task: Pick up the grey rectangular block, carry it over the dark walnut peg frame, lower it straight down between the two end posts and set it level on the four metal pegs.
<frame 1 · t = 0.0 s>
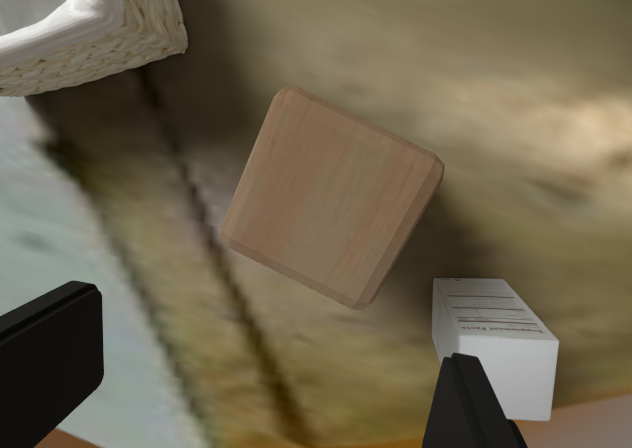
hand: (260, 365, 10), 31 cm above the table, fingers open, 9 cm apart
wooden block: (347, 169, 40), on the table
storage basket: (82, 5, 40), on the table
supplement box: (465, 306, 41), on the table
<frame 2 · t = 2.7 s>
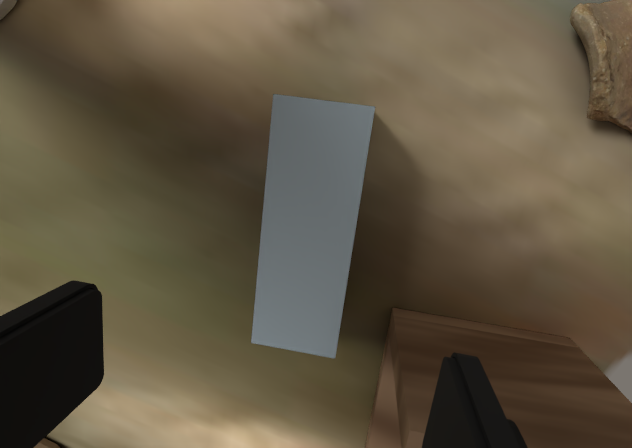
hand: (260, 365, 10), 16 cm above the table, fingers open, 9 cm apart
peg frame: (449, 432, 29), on the table
grey rectangular block: (320, 212, 26), on the table
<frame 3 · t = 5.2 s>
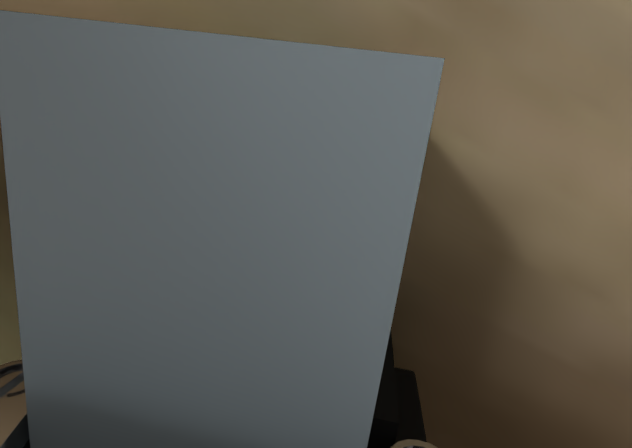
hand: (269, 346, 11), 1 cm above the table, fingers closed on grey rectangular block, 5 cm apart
grey rectangular block: (276, 329, 12), on the table, touching gripper
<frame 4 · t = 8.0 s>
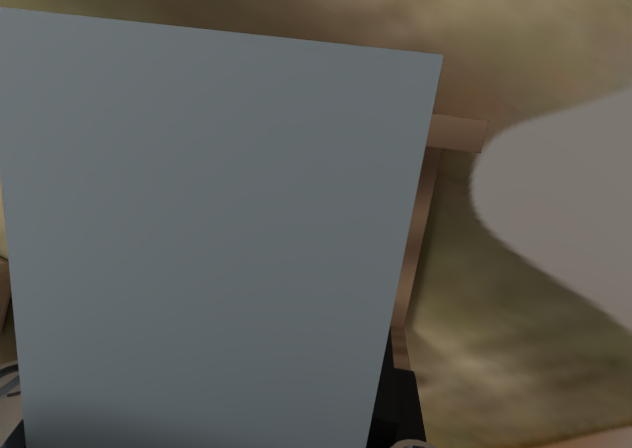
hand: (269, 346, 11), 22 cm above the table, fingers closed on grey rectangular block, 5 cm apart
peg frame: (349, 226, 32), on the table
grey rectangular block: (275, 329, 12), point 21 cm above the table, touching gripper
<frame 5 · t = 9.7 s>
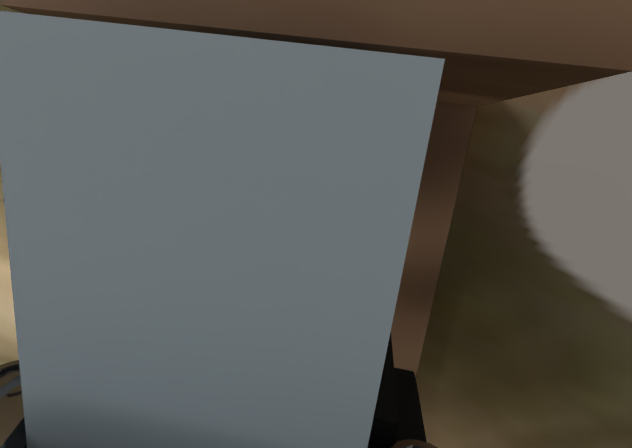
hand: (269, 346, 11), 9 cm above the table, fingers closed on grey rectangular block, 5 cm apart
peg frame: (318, 250, 20), on the table
grey rectangular block: (276, 330, 12), point 9 cm above the table, touching gripper
when the fingers open (6 cm above the table, at t = 11.3 s): grey rectangular block stays where it is, resting on peg frame.
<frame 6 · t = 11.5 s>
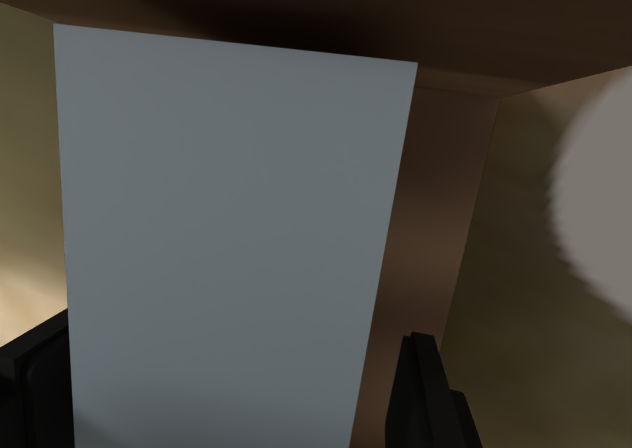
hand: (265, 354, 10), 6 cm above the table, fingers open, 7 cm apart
peg frame: (305, 271, 17), on the table
grey rectangular block: (280, 310, 13), point 4 cm above the table, touching peg frame
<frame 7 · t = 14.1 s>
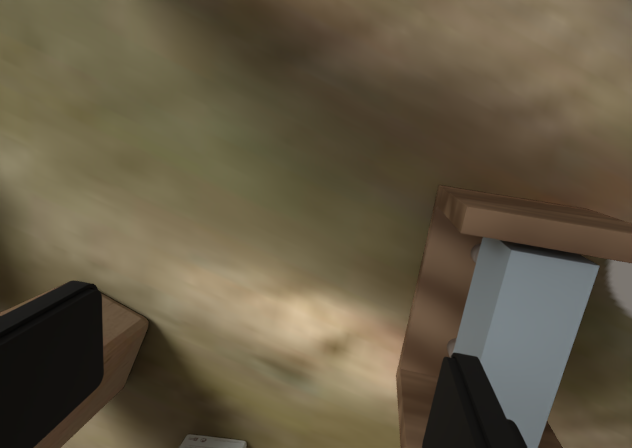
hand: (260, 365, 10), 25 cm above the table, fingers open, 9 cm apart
wooden block: (103, 331, 42), on the table
peg frame: (483, 299, 34), on the table
grey rectangular block: (495, 318, 30), point 4 cm above the table, touching peg frame
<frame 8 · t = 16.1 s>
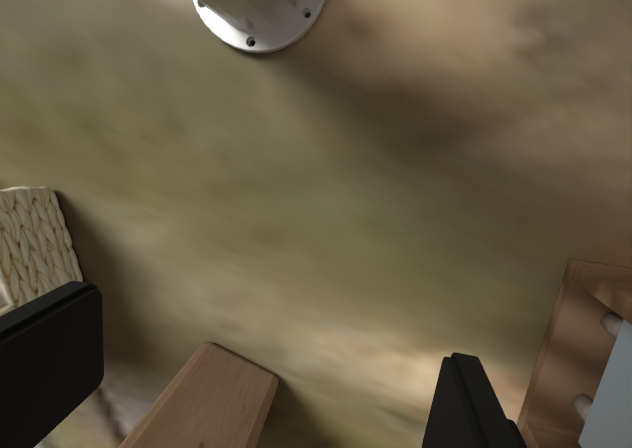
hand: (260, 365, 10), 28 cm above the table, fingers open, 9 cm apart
wooden block: (229, 386, 45), on the table
peg frame: (604, 358, 37), on the table
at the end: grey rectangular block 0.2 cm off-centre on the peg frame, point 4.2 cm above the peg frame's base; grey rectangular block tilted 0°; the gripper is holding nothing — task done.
